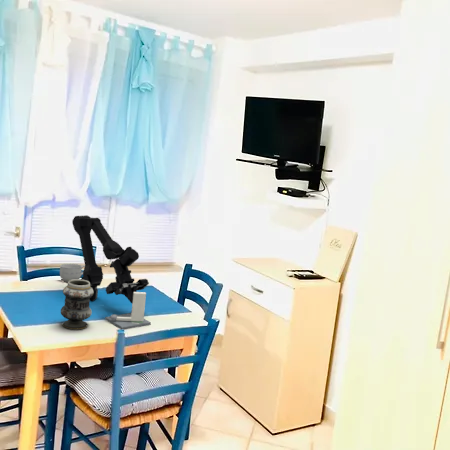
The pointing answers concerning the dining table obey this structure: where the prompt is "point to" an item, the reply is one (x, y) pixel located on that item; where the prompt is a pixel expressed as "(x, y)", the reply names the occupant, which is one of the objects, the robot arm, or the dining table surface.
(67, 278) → the teacup
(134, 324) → the dial board
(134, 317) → the dial crank handle
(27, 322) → the dining table surface
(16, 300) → the dining table surface
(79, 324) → the grey ornate vase
